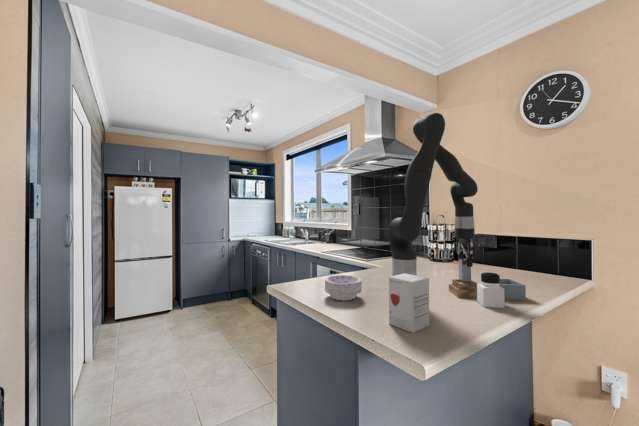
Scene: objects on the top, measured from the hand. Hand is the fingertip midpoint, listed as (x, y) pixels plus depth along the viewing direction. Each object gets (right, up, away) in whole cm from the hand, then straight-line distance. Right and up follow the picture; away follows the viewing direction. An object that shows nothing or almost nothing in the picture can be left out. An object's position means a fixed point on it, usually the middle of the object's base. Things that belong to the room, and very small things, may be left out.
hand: (465, 264), depth 120 cm
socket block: (0, -13, 0) cm, 13 cm away
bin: (+15, -13, -3) cm, 19 cm away
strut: (0, -10, 0) cm, 10 cm away
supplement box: (-35, -13, -33) cm, 50 cm away
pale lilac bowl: (-53, -13, -4) cm, 55 cm away
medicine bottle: (+2, -13, -14) cm, 19 cm away
